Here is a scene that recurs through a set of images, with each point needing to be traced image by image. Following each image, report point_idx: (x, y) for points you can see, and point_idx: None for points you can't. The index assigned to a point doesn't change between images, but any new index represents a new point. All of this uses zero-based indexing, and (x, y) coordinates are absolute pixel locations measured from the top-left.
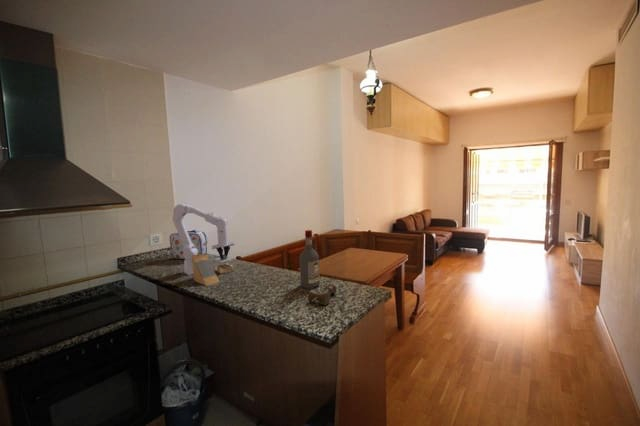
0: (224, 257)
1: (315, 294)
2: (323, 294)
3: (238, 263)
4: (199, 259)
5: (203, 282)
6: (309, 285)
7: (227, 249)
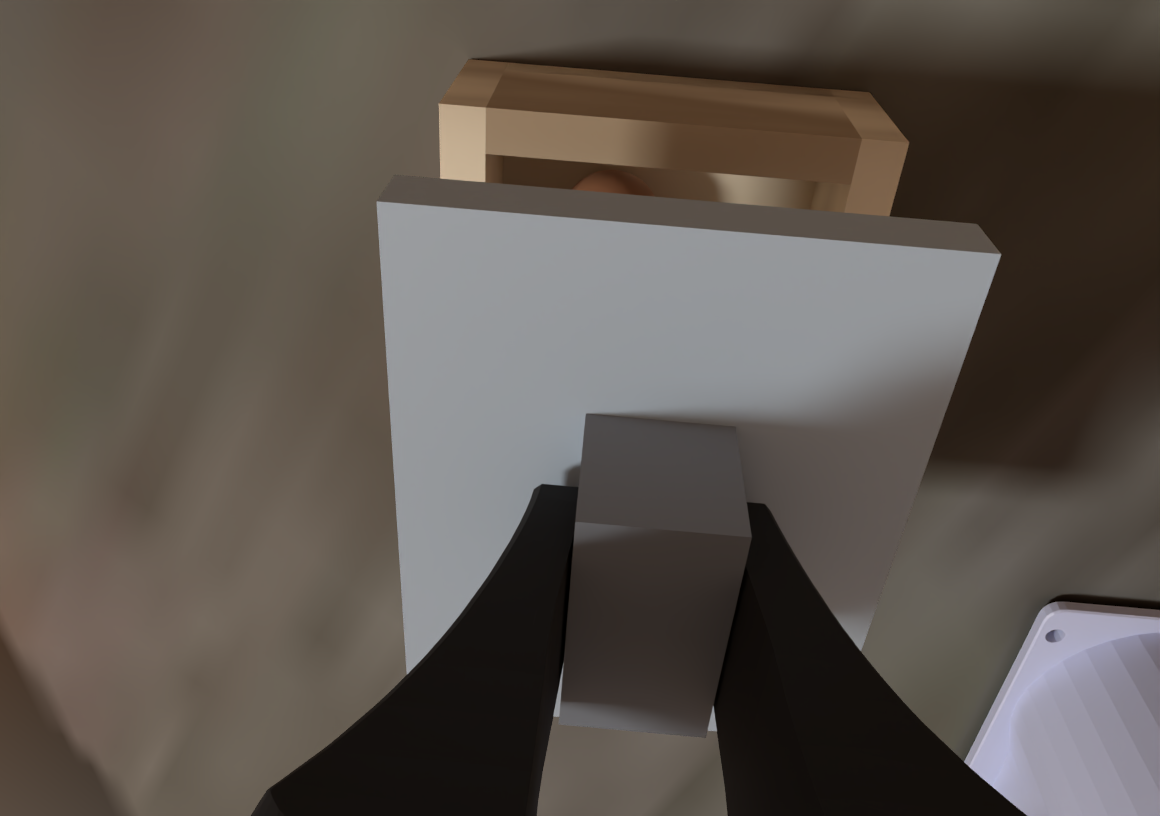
0: (692, 487)
1: None
2: None
3: (108, 546)
4: None
5: None
6: None
7: (476, 785)
